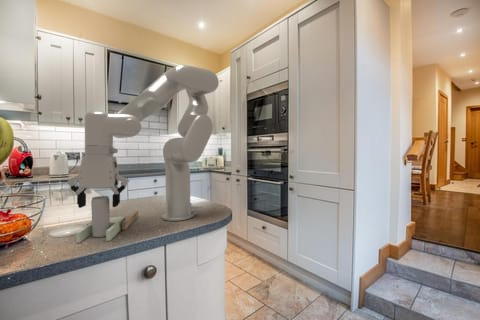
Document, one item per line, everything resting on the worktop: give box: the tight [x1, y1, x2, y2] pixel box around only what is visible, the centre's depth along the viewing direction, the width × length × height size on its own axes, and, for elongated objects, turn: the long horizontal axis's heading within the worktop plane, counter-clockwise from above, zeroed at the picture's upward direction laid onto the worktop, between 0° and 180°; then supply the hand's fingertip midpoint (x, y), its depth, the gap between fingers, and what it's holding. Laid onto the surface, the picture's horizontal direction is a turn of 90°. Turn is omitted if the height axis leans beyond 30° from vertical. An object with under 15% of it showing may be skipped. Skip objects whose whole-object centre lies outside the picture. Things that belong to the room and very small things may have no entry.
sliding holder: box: [75, 216, 126, 244], centre depth 73 cm, size 9×14×3 cm, turn 10°
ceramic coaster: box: [49, 224, 85, 239], centre depth 74 cm, size 9×9×1 cm
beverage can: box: [90, 195, 111, 238], centre depth 72 cm, size 5×5×12 cm
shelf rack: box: [86, 210, 139, 231], centre depth 83 cm, size 12×15×2 cm
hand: (99, 206), depth 72 cm, fingers open, 9 cm apart
